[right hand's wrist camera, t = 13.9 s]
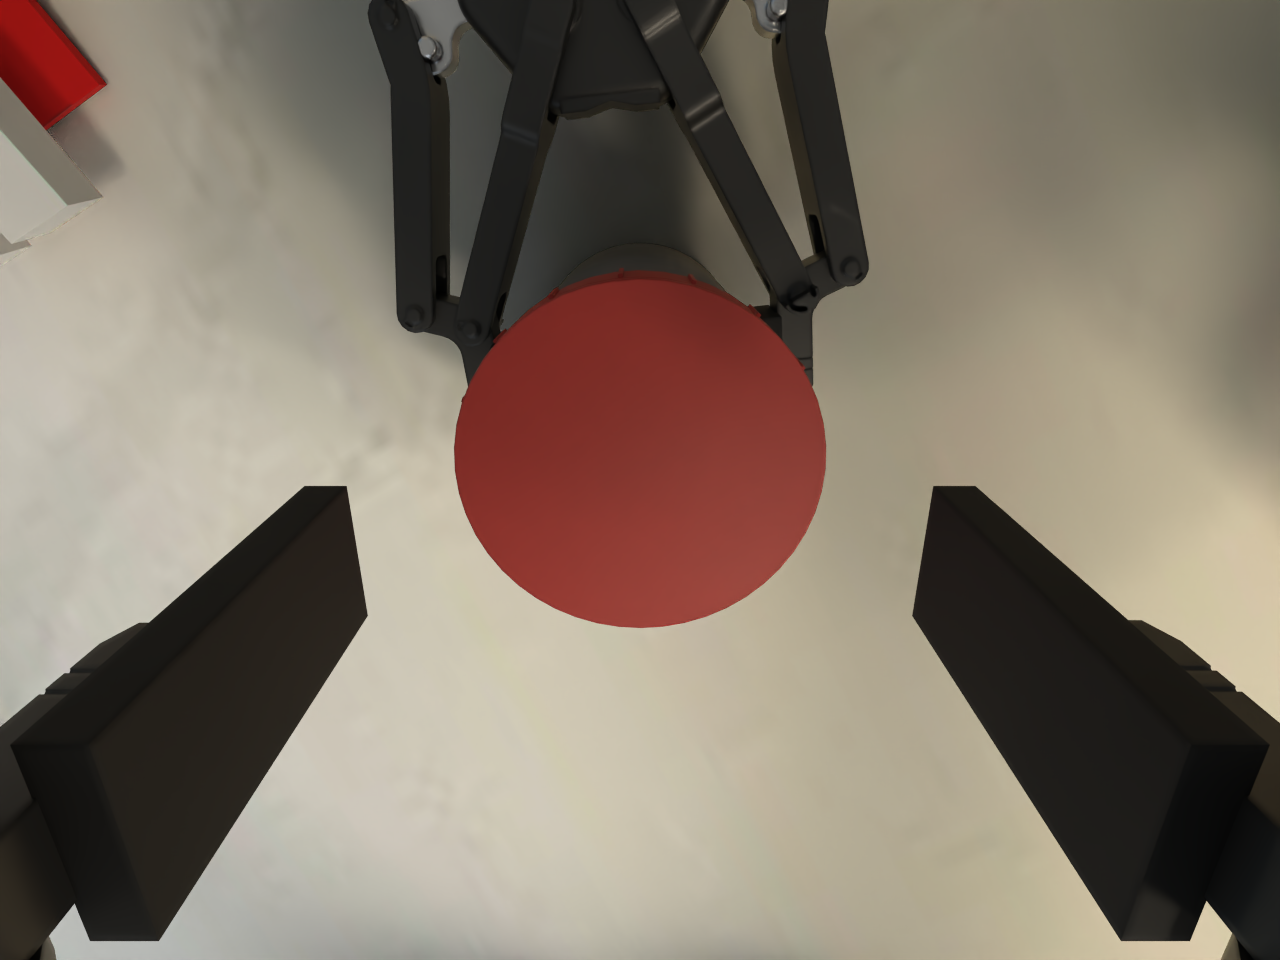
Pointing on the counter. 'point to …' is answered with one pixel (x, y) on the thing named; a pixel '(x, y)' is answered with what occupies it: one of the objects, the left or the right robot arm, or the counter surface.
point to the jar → (640, 263)
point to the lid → (640, 450)
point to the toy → (38, 126)
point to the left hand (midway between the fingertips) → (652, 492)
